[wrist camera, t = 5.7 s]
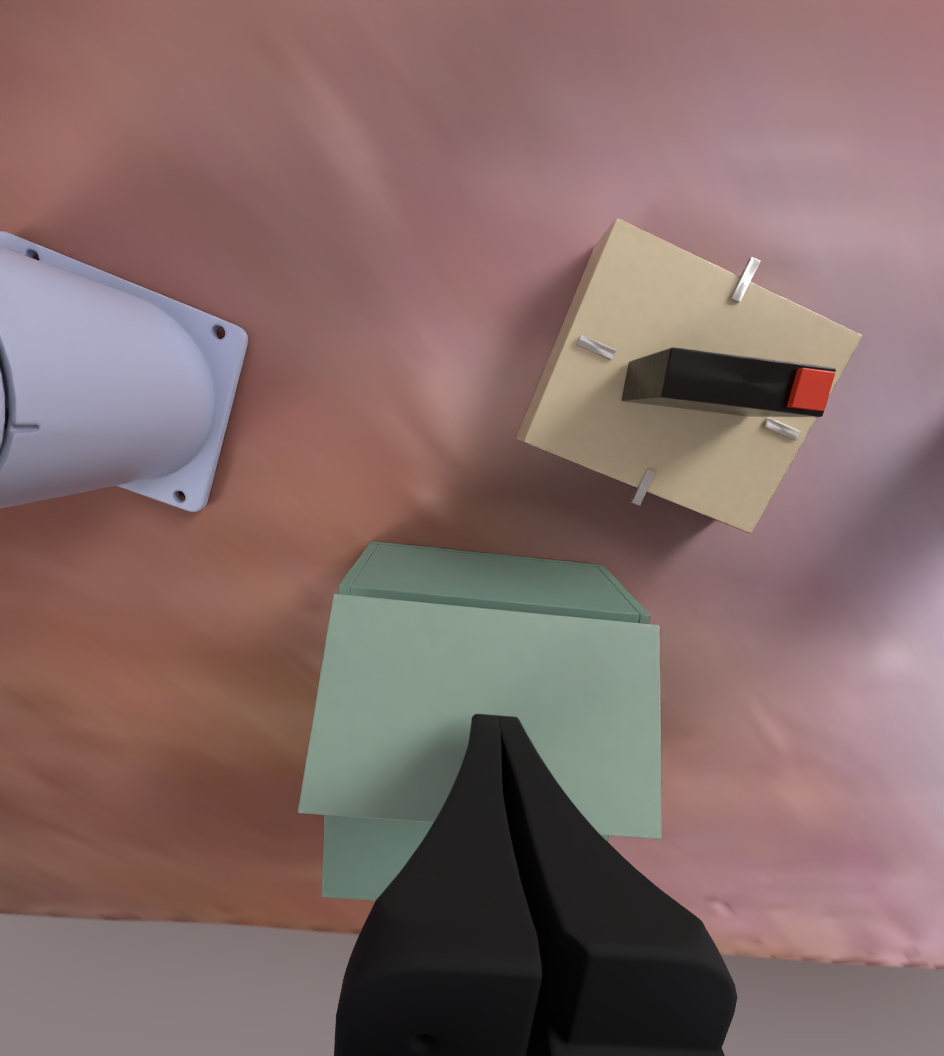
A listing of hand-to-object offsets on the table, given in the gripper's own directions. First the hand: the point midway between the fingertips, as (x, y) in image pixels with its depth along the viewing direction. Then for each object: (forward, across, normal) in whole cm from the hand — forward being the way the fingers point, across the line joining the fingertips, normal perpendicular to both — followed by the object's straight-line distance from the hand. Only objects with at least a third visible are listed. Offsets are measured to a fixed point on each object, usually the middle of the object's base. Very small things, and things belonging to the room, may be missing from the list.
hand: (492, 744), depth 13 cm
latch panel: (+8, -6, -11) cm, 15 cm away
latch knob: (+6, -6, -11) cm, 14 cm away
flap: (+1, 0, 0) cm, 1 cm away
